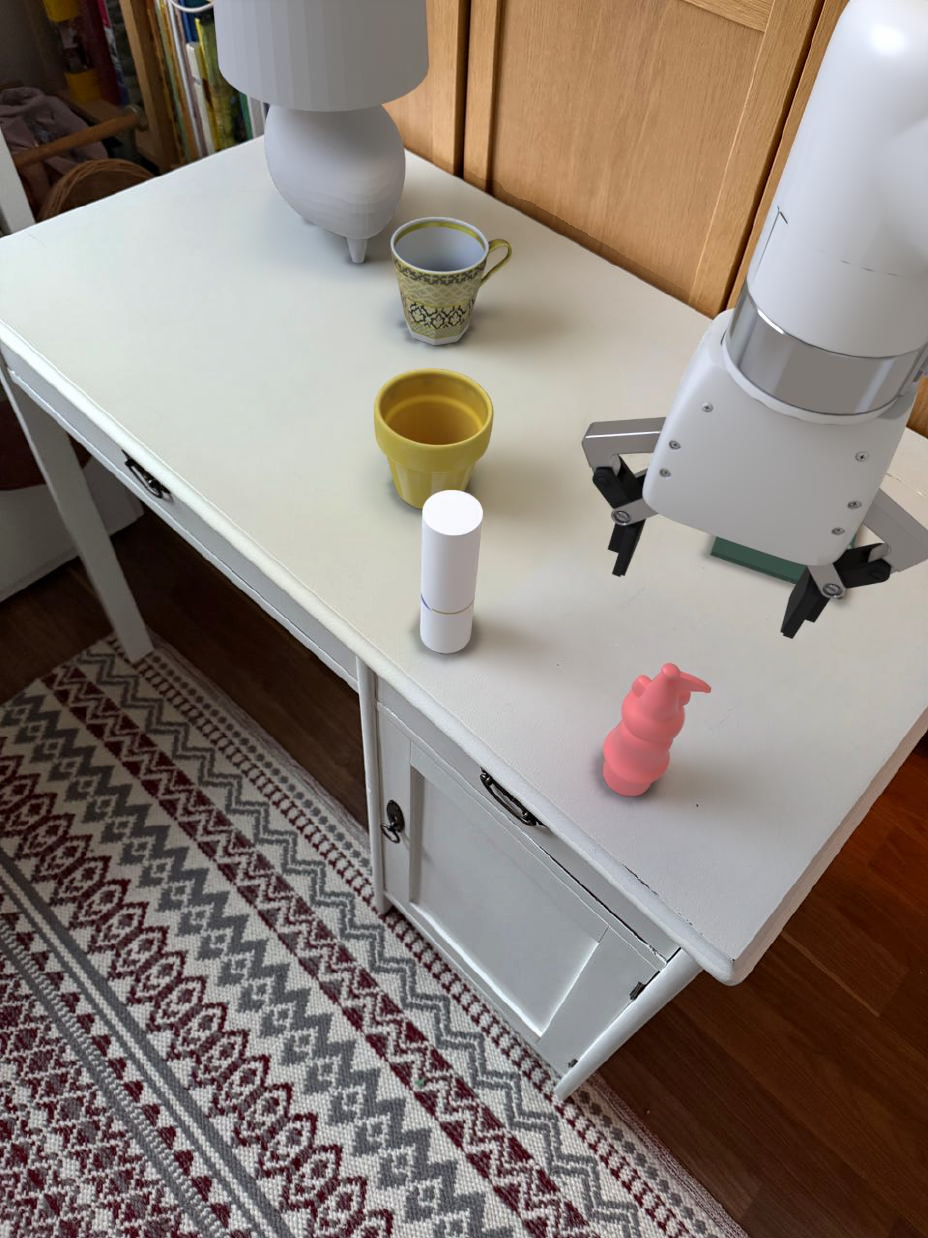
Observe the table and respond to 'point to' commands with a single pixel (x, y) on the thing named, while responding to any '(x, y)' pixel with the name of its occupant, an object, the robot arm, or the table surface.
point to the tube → (449, 569)
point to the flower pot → (432, 431)
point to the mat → (760, 560)
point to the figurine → (648, 729)
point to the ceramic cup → (441, 275)
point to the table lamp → (329, 100)
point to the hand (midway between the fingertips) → (706, 587)
